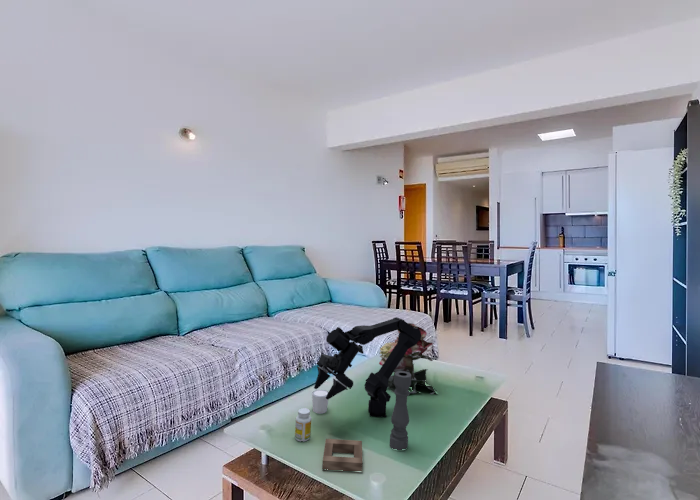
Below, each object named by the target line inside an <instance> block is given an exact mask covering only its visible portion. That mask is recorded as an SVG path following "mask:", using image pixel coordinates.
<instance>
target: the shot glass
mask: <svg viewBox="0 0 700 500" xmlns="http://www.w3.org/2000/svg"><path fill="white" fill-rule="evenodd" d="M328 392H329V391H327V390H325V389H314V391H312V393H311V395H312V397H311V398H312V412H313V413H316V414H318V415H319V414H326V413H327V412H328V406H329V399H326V396H327V394H328Z"/></svg>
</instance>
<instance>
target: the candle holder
mask: <svg viewBox="0 0 700 500" xmlns="http://www.w3.org/2000/svg"><path fill="white" fill-rule="evenodd" d="M394 373H395V375H394V374H393V375H394V384H395V387H396V389H395V390H394V392H393V393H394V395H395V404H394V407H393V410H392V414H391V418H390V420H391V424H392V428H391V430H390V434H389V448H391V449H392V448H393V449H397V450H402V449H406V448H407V447H409V446H408V445H409V436H408V434H409V433H408V430H407V426H408V425H409V423H410V416H409V409H408V397H409V395H410V394H411V393H409V391H408V389H409V387H410V385H411V374H410V373H408V372H405V371H397V372H394ZM409 390H410V389H409ZM393 449H392V450H393ZM407 449H408V448H407ZM407 449H406V450H407Z"/></svg>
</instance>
